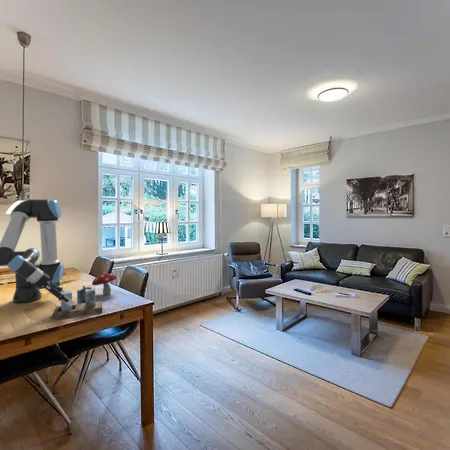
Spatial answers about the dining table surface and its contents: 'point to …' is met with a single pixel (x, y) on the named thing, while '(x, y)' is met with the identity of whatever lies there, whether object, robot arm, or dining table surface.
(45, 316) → the dining table surface
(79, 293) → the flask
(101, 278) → the decorative mushroom
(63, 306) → the gray rectangular block
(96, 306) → the block insertion board
